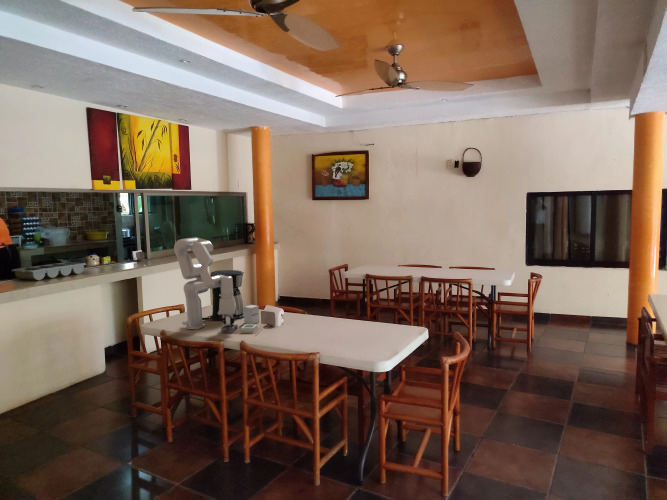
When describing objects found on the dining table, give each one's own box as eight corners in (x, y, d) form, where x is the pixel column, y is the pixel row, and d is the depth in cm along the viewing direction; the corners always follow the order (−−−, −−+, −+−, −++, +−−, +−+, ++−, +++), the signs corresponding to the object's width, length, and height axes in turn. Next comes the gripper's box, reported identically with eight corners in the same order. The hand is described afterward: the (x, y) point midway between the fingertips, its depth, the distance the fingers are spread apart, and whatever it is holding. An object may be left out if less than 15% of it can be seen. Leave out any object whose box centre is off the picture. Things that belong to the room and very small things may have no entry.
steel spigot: (225, 331, 297) (224, 315, 296) (227, 329, 301) (226, 314, 300) (231, 331, 297) (230, 315, 295) (233, 329, 301) (232, 314, 299)
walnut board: (216, 336, 293) (216, 329, 292) (224, 329, 307) (224, 323, 306) (255, 336, 290) (255, 329, 289) (261, 329, 303) (261, 323, 303)
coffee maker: (251, 316, 340) (248, 270, 336) (210, 325, 319) (206, 276, 315) (235, 311, 357) (232, 267, 353) (195, 319, 336) (192, 273, 332)
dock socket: (241, 332, 294) (240, 327, 293) (245, 329, 301) (244, 324, 301) (253, 332, 293) (253, 327, 292) (257, 329, 300) (257, 324, 300)
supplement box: (251, 326, 312) (250, 308, 311) (244, 325, 317) (243, 306, 315) (259, 324, 318) (258, 305, 317) (252, 322, 323) (251, 304, 321)
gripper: (212, 297, 294) (214, 325, 296) (238, 297, 291) (239, 325, 294) (216, 294, 301) (218, 322, 303) (242, 294, 299) (243, 322, 301)
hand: (228, 323), depth 298 cm, fingers closed on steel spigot, 4 cm apart
